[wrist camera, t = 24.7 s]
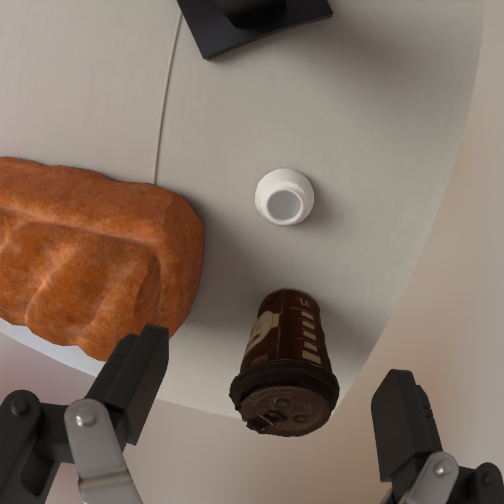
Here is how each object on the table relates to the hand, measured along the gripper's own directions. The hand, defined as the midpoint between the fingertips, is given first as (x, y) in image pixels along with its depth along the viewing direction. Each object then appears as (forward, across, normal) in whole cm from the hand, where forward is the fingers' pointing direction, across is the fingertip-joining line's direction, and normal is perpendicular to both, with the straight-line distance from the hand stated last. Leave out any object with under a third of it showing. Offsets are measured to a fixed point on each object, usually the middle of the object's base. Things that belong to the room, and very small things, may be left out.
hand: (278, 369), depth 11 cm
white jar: (+20, 0, 0) cm, 20 cm away
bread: (+19, +22, +8) cm, 31 cm away
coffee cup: (+20, -3, +12) cm, 23 cm away
